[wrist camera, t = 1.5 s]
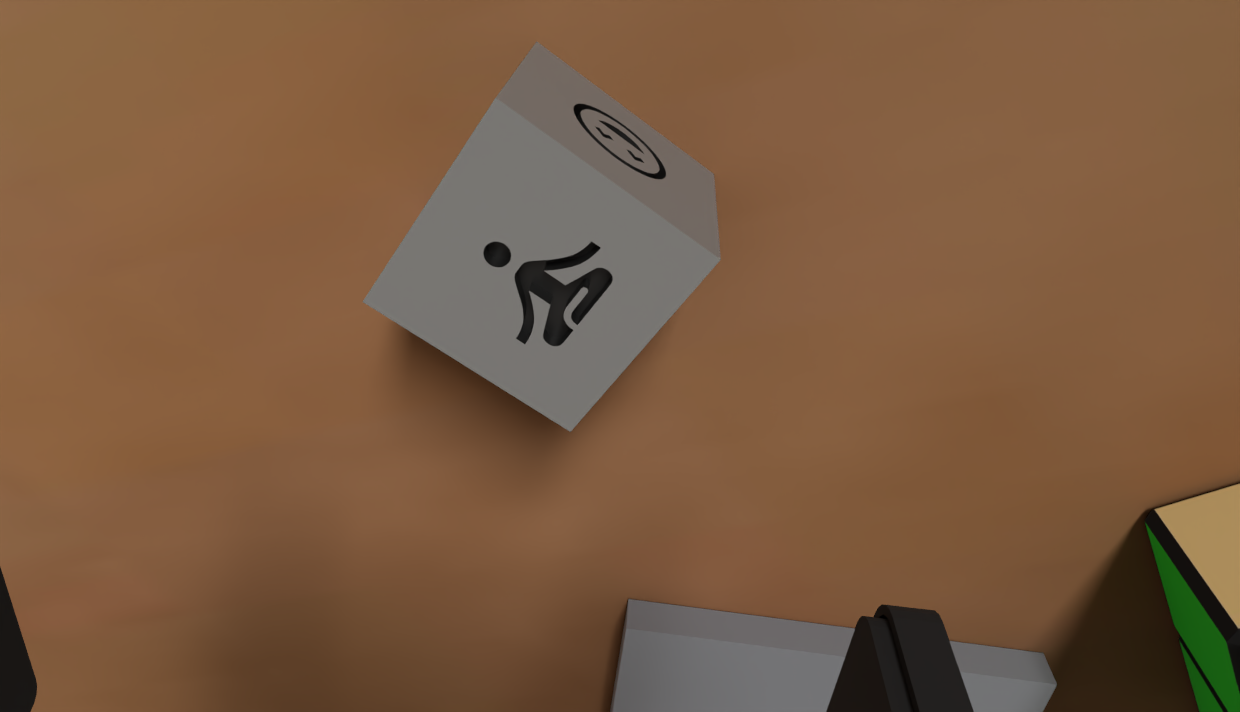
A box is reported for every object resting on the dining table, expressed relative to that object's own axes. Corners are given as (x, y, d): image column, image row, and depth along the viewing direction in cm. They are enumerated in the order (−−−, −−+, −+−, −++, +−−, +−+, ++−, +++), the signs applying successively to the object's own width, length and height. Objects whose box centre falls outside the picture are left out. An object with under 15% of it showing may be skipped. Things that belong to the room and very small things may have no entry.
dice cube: (591, 321, 23) (570, 431, 19) (426, 210, 22) (362, 301, 18) (713, 173, 21) (720, 259, 17) (536, 40, 20) (495, 97, 16)
